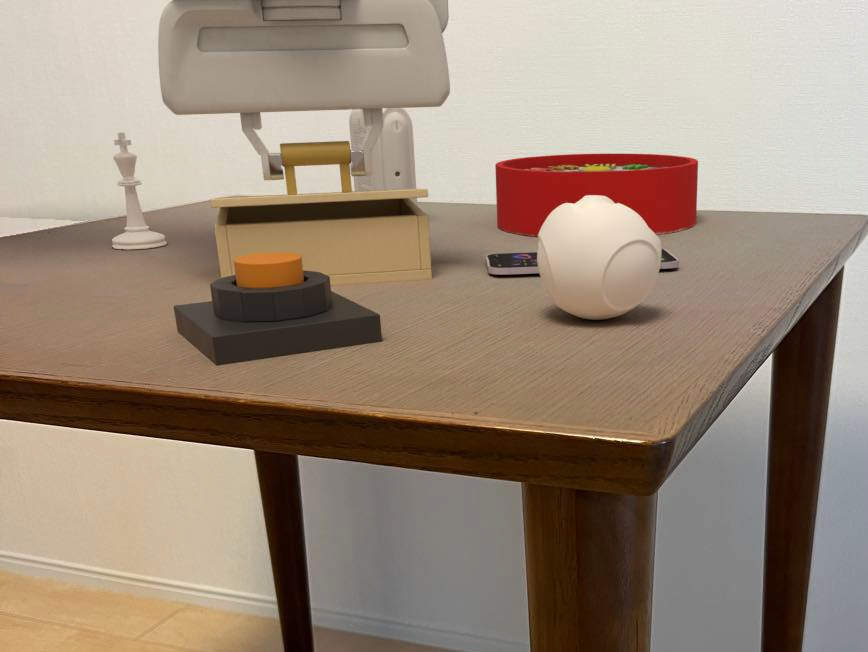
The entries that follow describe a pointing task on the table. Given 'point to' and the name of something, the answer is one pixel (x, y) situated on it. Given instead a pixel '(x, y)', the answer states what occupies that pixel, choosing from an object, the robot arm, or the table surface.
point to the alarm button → (268, 270)
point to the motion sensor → (597, 257)
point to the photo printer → (387, 152)
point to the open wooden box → (332, 238)
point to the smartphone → (529, 265)
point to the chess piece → (133, 205)
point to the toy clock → (597, 188)
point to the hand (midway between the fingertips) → (317, 177)
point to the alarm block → (274, 320)
